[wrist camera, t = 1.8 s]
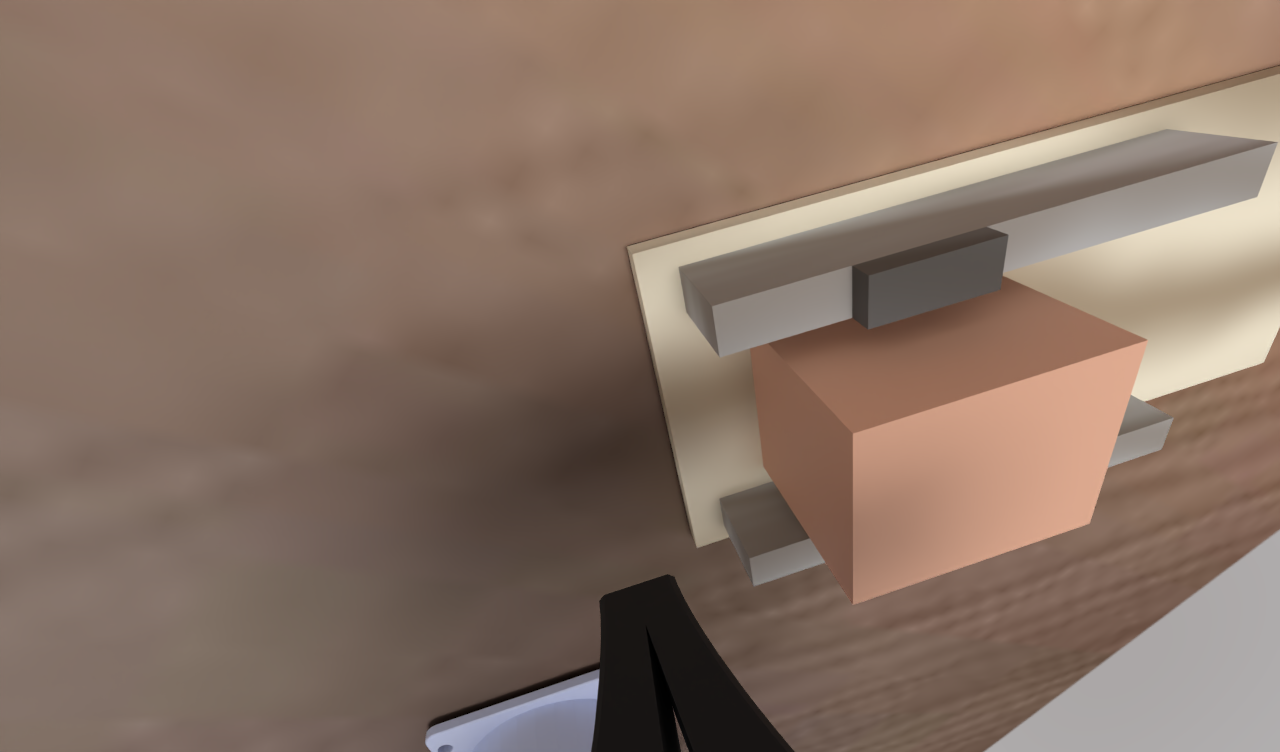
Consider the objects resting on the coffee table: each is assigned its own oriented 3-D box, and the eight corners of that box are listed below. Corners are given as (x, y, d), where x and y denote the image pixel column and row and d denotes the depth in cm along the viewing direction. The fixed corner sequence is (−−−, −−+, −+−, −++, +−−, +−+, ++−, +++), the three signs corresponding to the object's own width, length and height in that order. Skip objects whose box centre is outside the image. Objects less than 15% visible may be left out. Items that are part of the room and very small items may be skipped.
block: (945, 409, 17) (1089, 523, 13) (763, 466, 17) (853, 604, 13) (961, 257, 15) (1148, 340, 11) (746, 320, 14) (852, 433, 10)
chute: (1244, 354, 20) (1376, 408, 17) (691, 534, 19) (730, 629, 16) (1381, 37, 15) (1606, 34, 12) (626, 246, 13) (666, 304, 10)
